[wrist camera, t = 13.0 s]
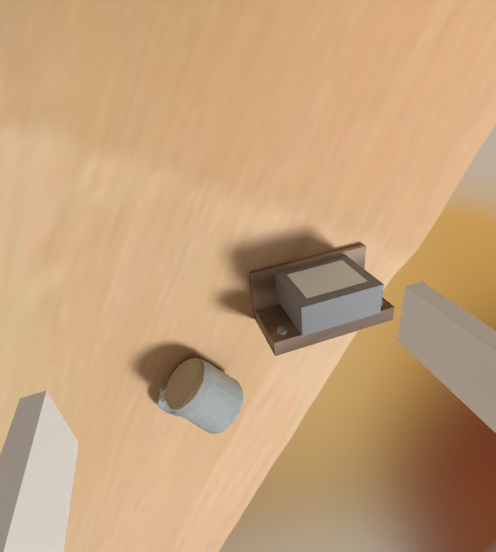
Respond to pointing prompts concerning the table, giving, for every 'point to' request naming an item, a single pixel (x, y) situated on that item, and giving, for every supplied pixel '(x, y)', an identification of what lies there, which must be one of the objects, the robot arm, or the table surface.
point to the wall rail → (279, 324)
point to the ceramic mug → (202, 396)
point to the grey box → (327, 294)
